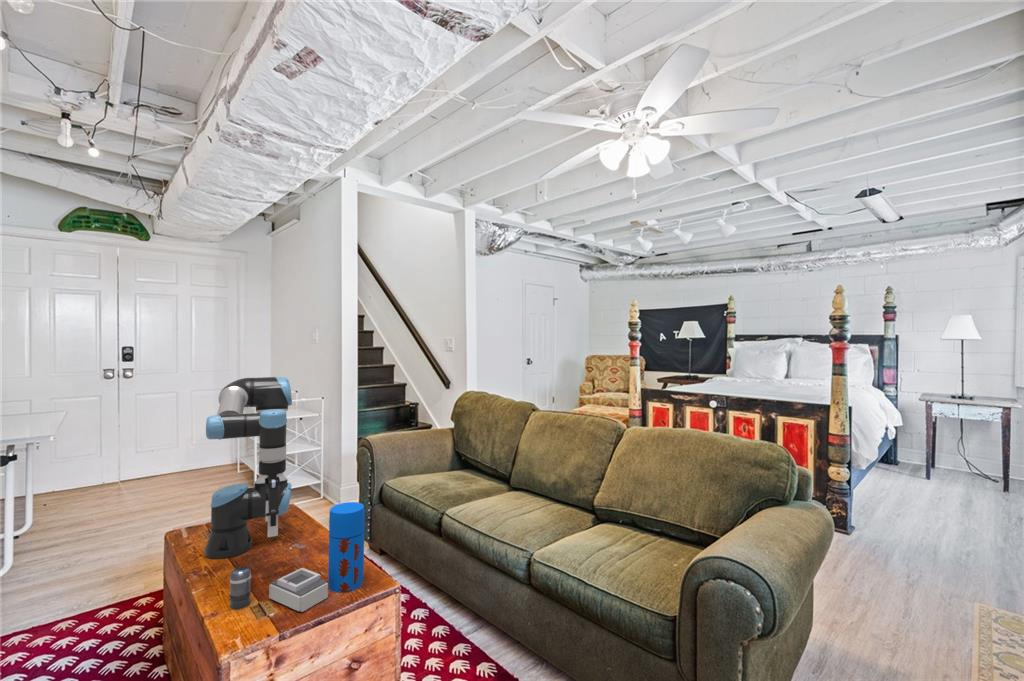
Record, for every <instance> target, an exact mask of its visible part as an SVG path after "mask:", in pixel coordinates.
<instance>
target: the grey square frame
mask: <svg viewBox="0 0 1024 681" xmlns="http://www.w3.org/2000/svg"><path fill="white" fill-rule="evenodd" d="M268 587H269V588H268V589H269V590H268V598H269V599H270V600H272V601H275V602H277V603H279V604H282V605H283V606H286V607H288V608H290V609H292V610H295V611H296V612H299V613H303V612H306V611H307V610H308V609H310V608H312V607H314V606H315V605H317V604H318V603H320V602H322V601H324V600H326V599H327V598H329V582H327V580H324V579H322V578H321V574H320V573H318V572H315V571H313V570H309V569H307V568H304V567H301V568H298V569H296V570H294V571H292V572H289V573H288V574H286V575H284V576H281V577H279V578H277V579H275V580H273V581H271V582H270V584H268Z"/></svg>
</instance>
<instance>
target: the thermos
mask: <svg viewBox="0 0 1024 681" xmlns="http://www.w3.org/2000/svg"><path fill="white" fill-rule="evenodd" d="M365 513H366V512H365V506H364V504H363V503H361V502H357V501H354V502H353V501H351V502H342V503H338V504H335V505H332V506H331V507H330V509H329V513H328V514H329V515H328V516H329V518H328V520H329V521H328V523H329V524H328V530H329V531H328V533H329V534H328V572H327V573H328V574H327V575H328V590H330V591H331V592H333V593H336V594H337V593H338V594H339V593H340V594H344V593H350V592H353V591H355V590H358V588H361V586H362V585H363V583H364V570H365V569H364V568H365V567H364V565H365V564H364V563H365V518H366V517H365Z"/></svg>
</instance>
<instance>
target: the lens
mask: <svg viewBox="0 0 1024 681" xmlns="http://www.w3.org/2000/svg"><path fill="white" fill-rule="evenodd" d="M251 570H252V569H251V567H248V566H241V567H237V568H235V569H233V570H232V571H230V577H229V583H230V584H229V585H230V586H229V588H230V589H229V590H230V591H229V592H230V593H229V609H231V610H235V611H236V610H241V609H244V608H247V607H248V606H249V605H250V604H251V595H252V593H251V592H252V589H251V579H252V573H251Z"/></svg>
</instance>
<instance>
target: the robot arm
mask: <svg viewBox="0 0 1024 681" xmlns="http://www.w3.org/2000/svg"><path fill="white" fill-rule="evenodd" d="M291 389H292V388H291V383H290V381H289V379H288V378H287V377H282V376H280V377H279V376H271V377H270V376H269V377H268V376H267V377H265V376H264V377H245V378H240V379H237V380H233V381H232V382H230V383H228V384H227V385H225V386H224V387H223V388H222V389H221V391H220V392H219V395H218V403H219V406H218V411H217V413H216V414H214V415H209V416H207V418H206V424H205V436H206V438H207V439H208V440H219V441H221V440H226V439H227V440H228V439H239V438H252V437H259V440H258V441H259V445H258V447H259V448H258V449H259V450H257V451H256V454H258V456H259V457H258V478H257V479H256V480H255V481H254V482H253V487H249V486H248V484H246V483H236V484H231V485H227V486H225V487H221V488H219V489H217V490H216V491H215V492H214V493H212V495H211V504H210V508H211V509H210V510H211V511H210V512H211V513H210V514H211V516H210V534H209V536H208V538H207V541H206V544H205V547H204V555H205V557H206V558H208V559H214V560H215V559H216V560H217V559H218V560H219V559H227V558H232V557H235V556H239V555H241V554H243V553H246V552H248V551H249V550H250V549H251V548H252V546H253V539H252V536H251V533H250V530H249V528H248V520H254V519H255V520H256V519H262V518H265V521H264V522H267V538H272V537H277V536H279V516H280V515H285V514H286V513H287V512H288V510H289V507H290V502H291V495H292V483H291V482H288V477H286V476H285V474H284V473H285V472H286V469H287V468H286V467H287V465H286V464H287V460H286V458H287V423H288V418H287V411H288V410H289V406H292V405H293V401H292V400H293V399H292V398H293V396H292V390H291ZM245 408H255V412H253V413H244V409H245Z"/></svg>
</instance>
